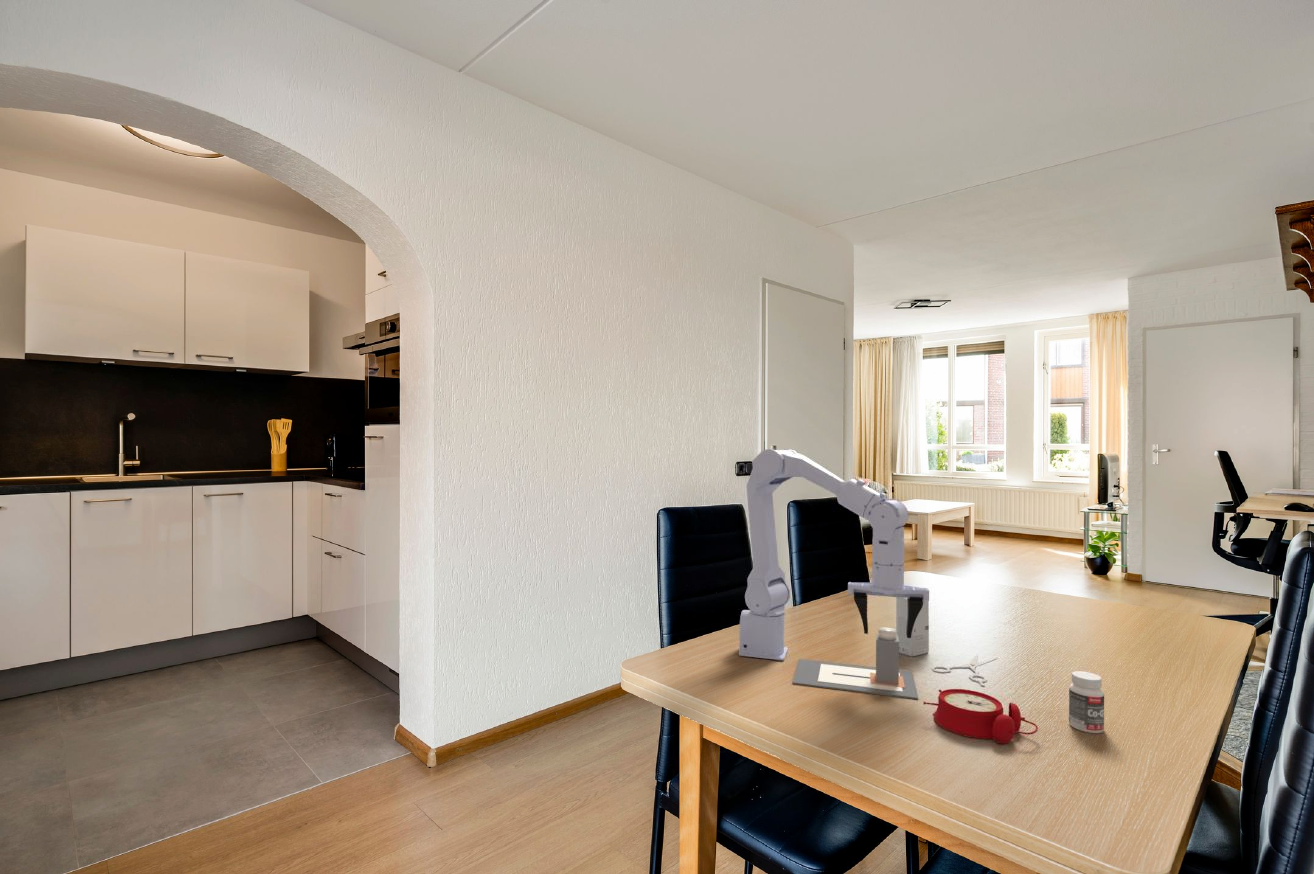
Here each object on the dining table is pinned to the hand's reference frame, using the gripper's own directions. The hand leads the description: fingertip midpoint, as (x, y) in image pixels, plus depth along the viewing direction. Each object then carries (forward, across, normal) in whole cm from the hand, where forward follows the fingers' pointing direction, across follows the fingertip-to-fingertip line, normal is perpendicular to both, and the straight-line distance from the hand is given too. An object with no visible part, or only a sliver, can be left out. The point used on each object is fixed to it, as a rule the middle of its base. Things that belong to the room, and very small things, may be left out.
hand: (887, 634), depth 122 cm
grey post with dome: (+9, 0, 0) cm, 9 cm away
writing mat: (+9, -6, 0) cm, 11 cm away
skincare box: (+9, +6, +21) cm, 24 cm away
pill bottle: (+9, +30, -10) cm, 33 cm away
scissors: (+10, +17, +15) cm, 25 cm away
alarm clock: (+10, +14, -16) cm, 23 cm away
